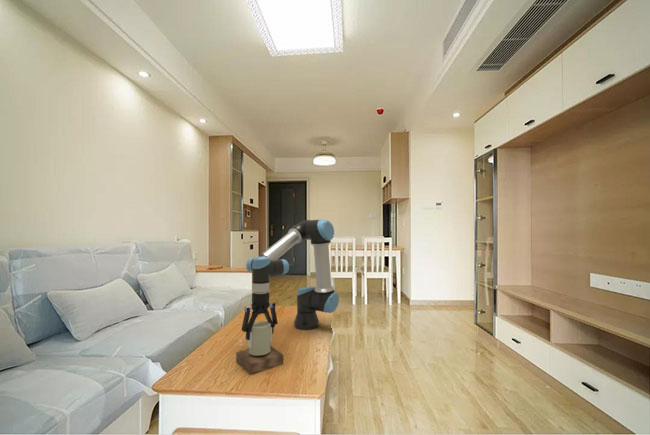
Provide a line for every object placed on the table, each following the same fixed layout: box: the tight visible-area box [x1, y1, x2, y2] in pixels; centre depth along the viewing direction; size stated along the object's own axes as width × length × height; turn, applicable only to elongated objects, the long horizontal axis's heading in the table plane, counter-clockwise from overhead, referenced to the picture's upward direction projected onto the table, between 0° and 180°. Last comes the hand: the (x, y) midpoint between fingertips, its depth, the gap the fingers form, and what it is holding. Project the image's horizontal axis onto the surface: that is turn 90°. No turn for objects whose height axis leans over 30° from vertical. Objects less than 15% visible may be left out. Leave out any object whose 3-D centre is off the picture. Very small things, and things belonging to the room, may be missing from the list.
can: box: [248, 320, 271, 356], centre depth 122 cm, size 9×9×12 cm
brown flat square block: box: [235, 345, 284, 376], centre depth 122 cm, size 15×15×4 cm
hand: (259, 344), depth 122 cm, fingers closed on can, 9 cm apart
